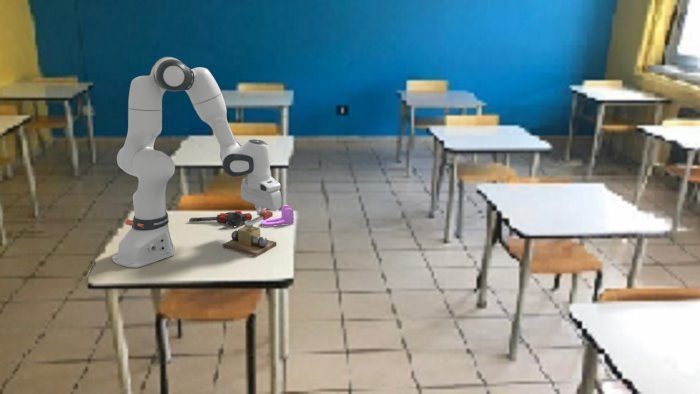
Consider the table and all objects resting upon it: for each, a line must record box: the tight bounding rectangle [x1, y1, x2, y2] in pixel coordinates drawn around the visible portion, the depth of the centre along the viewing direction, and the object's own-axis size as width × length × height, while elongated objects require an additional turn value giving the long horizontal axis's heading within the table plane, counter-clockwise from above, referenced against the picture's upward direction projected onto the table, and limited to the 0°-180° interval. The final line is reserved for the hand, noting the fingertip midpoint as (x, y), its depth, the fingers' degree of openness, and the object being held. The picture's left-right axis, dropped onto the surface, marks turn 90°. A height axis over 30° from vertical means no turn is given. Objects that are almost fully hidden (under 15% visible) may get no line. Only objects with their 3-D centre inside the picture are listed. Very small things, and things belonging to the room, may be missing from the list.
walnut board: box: [222, 238, 277, 258], centre depth 229 cm, size 12×16×2 cm
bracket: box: [260, 204, 295, 227], centre depth 251 cm, size 13×6×7 cm, turn 111°
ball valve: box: [230, 225, 269, 248], centre depth 227 cm, size 6×15×7 cm, turn 60°
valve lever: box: [244, 210, 274, 228], centre depth 231 cm, size 14×3×2 cm, turn 149°
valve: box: [188, 210, 253, 228], centre depth 255 cm, size 6×26×15 cm
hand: (261, 215), depth 236 cm, fingers closed
